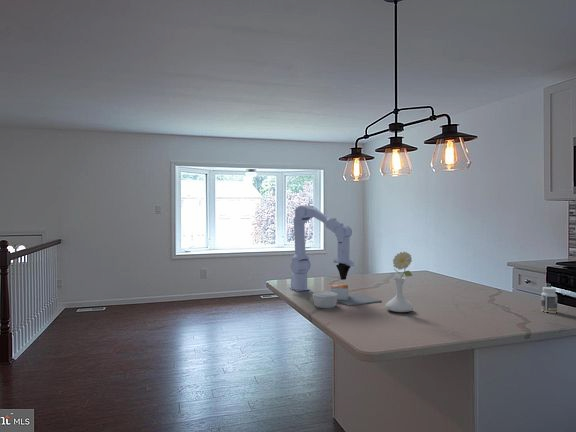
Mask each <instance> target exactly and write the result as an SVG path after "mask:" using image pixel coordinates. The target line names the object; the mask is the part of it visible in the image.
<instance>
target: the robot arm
mask: <svg viewBox="0 0 576 432" xmlns="http://www.w3.org/2000/svg"><path fill="white" fill-rule="evenodd" d="M312 218H315V219H316V220H318V221H320V222H322V223H323V224H325V228H326V229H328V230H329V231H331V232H332V233H334V235H335V237H336V240H337V258H333V264H334V263H335V264H336V265H335V266H336V268H337V270H338V271H337V272H338V274H339V277H340V280H342V281H345V280H347V276H348V273H349V271H350V268H351V267H354V266H355V262H354V261H352V259H350V251H351V250H350V240H351V239H350V237H351V236H352V235H353V234H352V233H353V230H352V228H351V227H350V226H349V225H344V223H343V222H340V221H338V220H337V218H336V217H328V216H327V215H326V214H325V213H323V212H322V211H320V210H319V209H318V207H315V206H314V205H298V206H297V207H296V208H295V209H294V218H293V232H294V233H293V234H294V235H293V236H294V254H293V256H292V257H291V262H290V269H291V271H292V273H291V275H290V286H289V289H291V290H294V291H296V292H301V291H310V290H311V288H309V287H308V273H309V270H310V269H311V262H310V258H309V256H308V254H307V253H306V252H307V251H306V233H305V224H306V223H307V221H309V220H311V219H312Z"/></svg>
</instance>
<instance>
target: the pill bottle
mask: <svg viewBox="0 0 576 432" xmlns="http://www.w3.org/2000/svg"><path fill="white" fill-rule="evenodd" d="M556 292H557V289H556V287H551V286H543V287H542V292H541V295H540V310H541V312H543V311H544V312H543V313H546V312H551V313H550V314H557V313H558V295H557V293H556ZM556 312H557V313H556Z"/></svg>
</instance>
